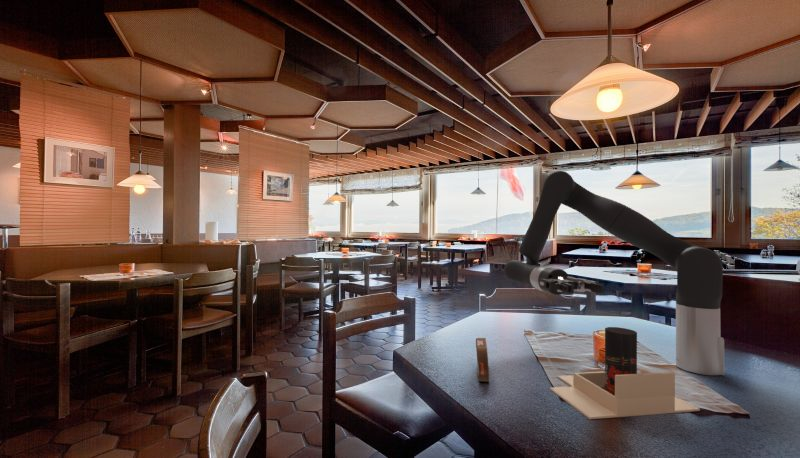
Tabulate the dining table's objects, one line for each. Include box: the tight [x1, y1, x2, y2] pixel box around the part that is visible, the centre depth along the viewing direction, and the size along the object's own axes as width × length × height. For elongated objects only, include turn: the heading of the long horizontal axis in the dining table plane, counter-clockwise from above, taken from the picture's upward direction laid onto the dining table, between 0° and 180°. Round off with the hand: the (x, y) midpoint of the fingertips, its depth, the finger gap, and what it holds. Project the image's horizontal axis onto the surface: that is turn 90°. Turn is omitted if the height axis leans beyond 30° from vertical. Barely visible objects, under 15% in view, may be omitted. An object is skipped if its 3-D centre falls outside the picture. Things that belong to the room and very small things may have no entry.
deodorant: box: [604, 326, 638, 396], centre depth 76 cm, size 6×6×15 cm
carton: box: [549, 370, 701, 420], centre depth 79 cm, size 19×25×8 cm
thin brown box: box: [475, 337, 490, 383], centre depth 89 cm, size 15×3×8 cm, turn 168°
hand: (587, 289), depth 87 cm, fingers open, 8 cm apart
